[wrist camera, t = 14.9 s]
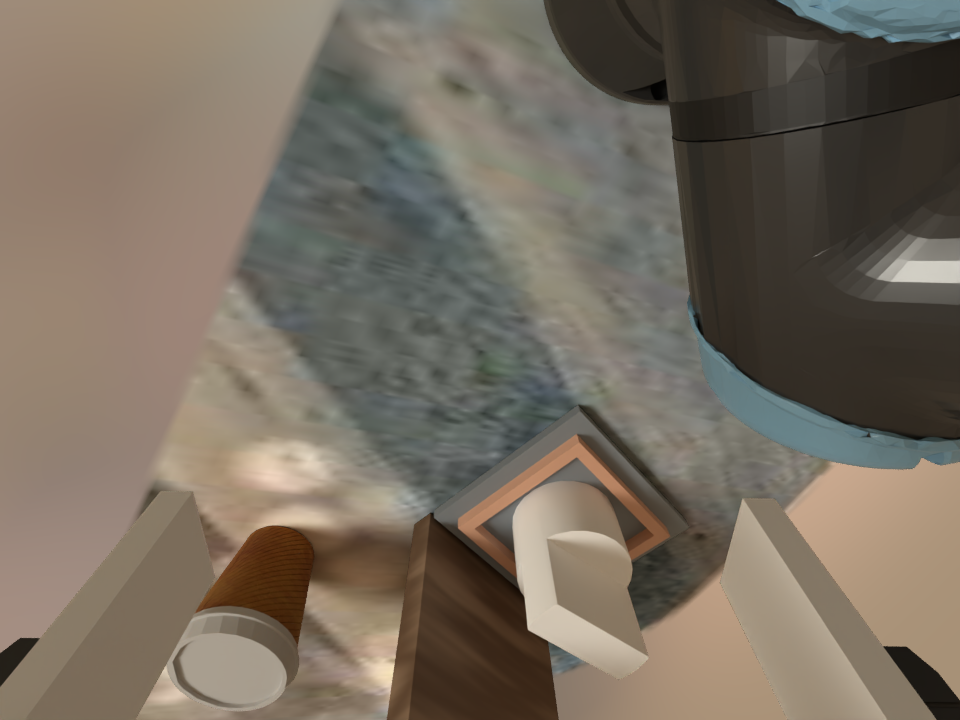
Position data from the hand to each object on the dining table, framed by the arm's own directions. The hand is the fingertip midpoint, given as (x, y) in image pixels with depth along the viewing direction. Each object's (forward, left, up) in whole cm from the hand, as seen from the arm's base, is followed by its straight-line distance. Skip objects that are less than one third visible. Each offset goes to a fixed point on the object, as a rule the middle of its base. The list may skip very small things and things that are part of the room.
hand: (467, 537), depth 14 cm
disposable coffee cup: (+32, +9, -29) cm, 44 cm away
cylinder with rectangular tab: (+10, +23, -28) cm, 37 cm away
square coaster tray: (+10, +23, -28) cm, 38 cm away
